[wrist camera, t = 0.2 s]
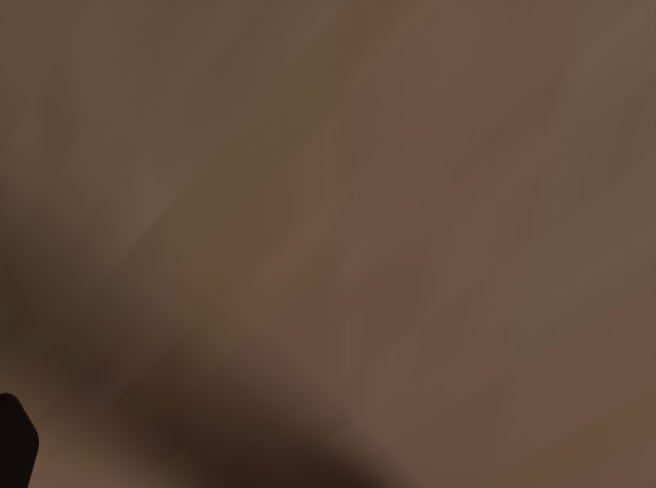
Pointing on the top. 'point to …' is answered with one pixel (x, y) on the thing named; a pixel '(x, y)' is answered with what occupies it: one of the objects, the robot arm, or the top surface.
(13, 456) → the robot arm
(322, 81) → the top surface
